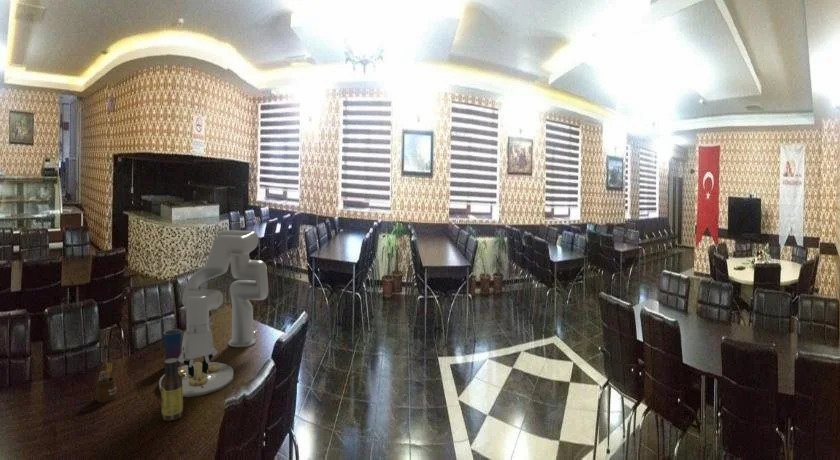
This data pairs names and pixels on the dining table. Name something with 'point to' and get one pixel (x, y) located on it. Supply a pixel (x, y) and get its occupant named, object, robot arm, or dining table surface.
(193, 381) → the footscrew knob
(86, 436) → the dining table surface
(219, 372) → the white round plate
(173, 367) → the sauce bottle
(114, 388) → the utensil holder
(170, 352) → the cup
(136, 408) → the dining table surface
